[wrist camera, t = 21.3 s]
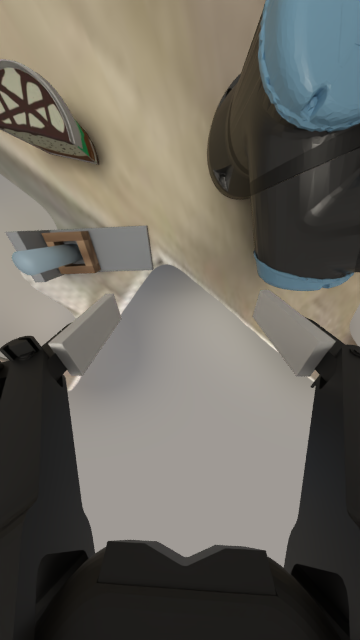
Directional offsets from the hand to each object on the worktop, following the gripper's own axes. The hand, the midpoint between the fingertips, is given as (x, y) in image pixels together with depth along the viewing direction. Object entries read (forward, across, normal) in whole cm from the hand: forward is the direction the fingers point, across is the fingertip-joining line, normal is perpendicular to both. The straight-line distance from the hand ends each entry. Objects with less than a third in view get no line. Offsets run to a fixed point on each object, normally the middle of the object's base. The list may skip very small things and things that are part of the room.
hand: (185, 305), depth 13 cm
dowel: (+28, -28, +2) cm, 39 cm away
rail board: (+29, -22, +2) cm, 36 cm away
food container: (+29, -21, +21) cm, 41 cm away
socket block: (+27, -27, +2) cm, 39 cm away
